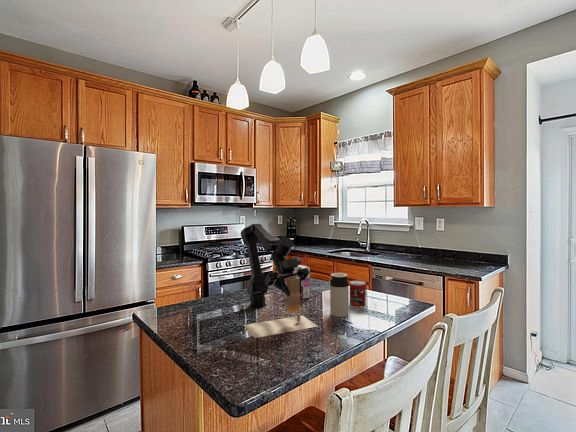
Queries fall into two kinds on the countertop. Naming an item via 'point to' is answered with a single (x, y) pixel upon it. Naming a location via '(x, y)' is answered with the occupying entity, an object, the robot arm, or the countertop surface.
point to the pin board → (279, 326)
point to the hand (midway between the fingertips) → (295, 294)
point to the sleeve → (293, 294)
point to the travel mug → (339, 295)
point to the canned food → (358, 293)
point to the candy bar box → (304, 283)
